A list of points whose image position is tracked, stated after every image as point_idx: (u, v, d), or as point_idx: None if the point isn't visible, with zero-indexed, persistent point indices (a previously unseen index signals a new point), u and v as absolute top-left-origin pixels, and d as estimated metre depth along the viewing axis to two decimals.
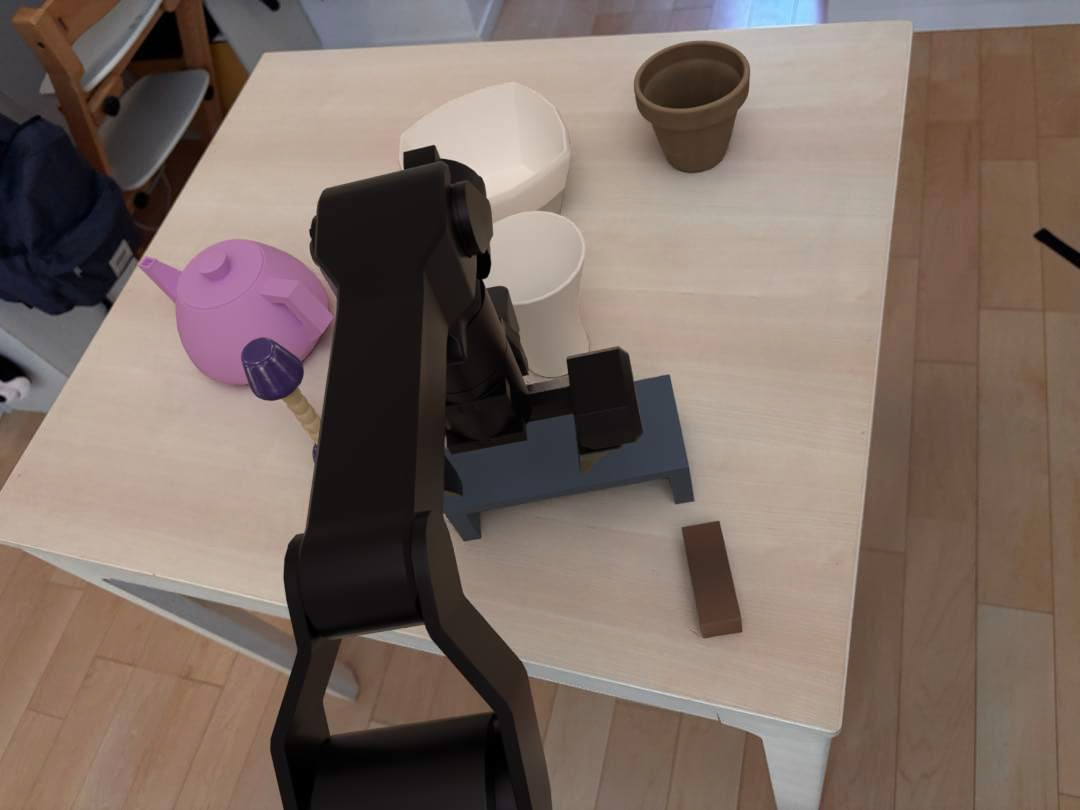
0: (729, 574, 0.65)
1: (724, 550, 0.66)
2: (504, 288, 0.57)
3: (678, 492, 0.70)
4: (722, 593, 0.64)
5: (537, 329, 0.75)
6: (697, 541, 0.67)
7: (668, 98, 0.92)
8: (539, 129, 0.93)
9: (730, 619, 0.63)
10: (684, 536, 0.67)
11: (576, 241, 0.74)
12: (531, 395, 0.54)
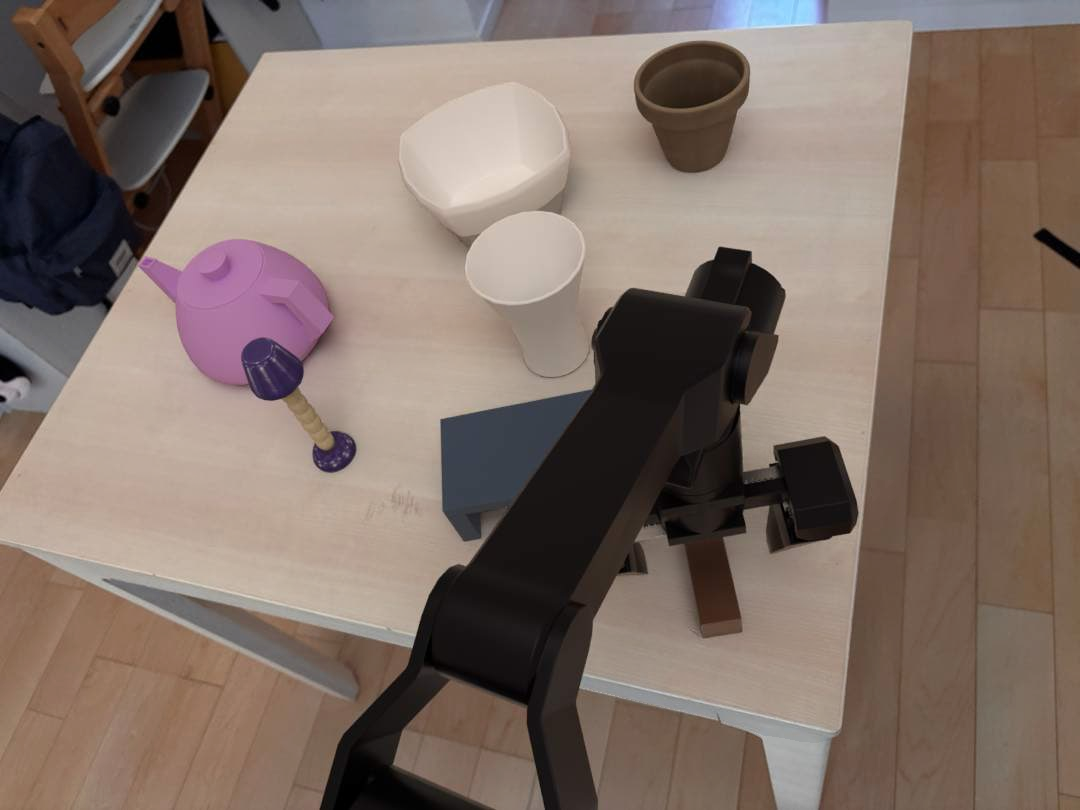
0: (729, 574, 0.65)
1: (724, 550, 0.66)
2: None
3: None
4: (722, 593, 0.64)
5: (537, 329, 0.75)
6: None
7: (668, 98, 0.92)
8: (539, 129, 0.93)
9: (730, 619, 0.63)
10: None
11: (575, 241, 0.74)
12: (743, 486, 0.55)
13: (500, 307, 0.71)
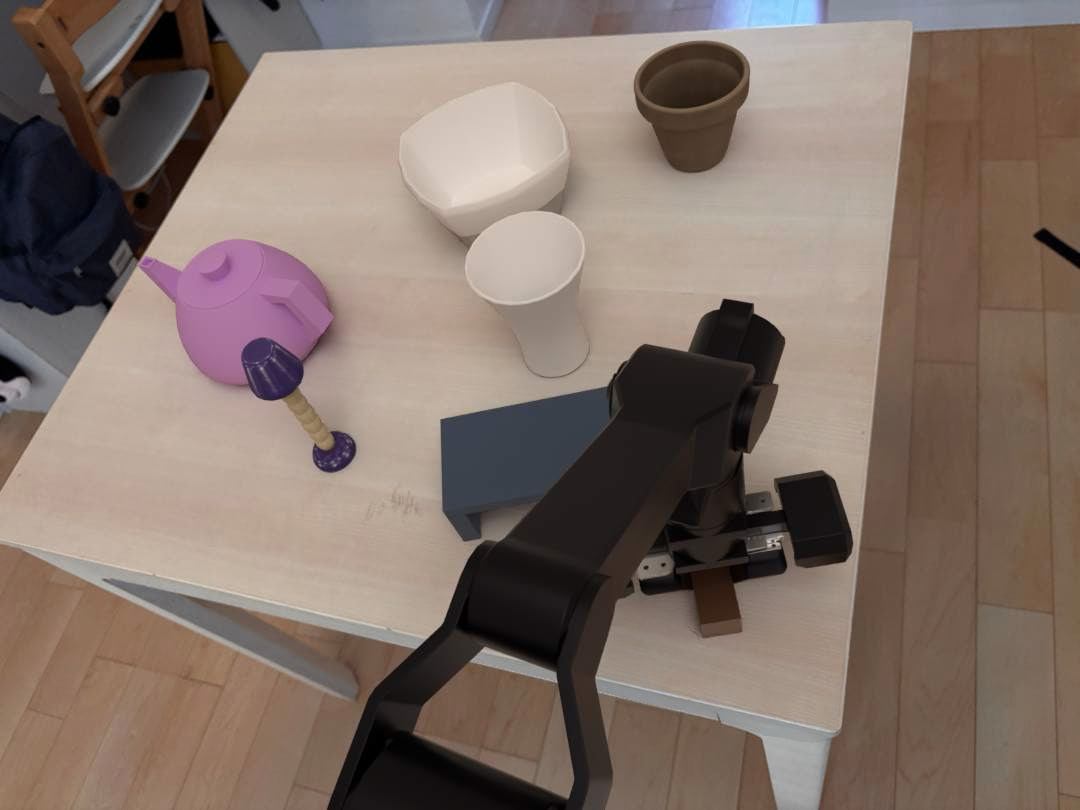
0: (729, 574, 0.65)
1: None
2: None
3: None
4: (722, 593, 0.64)
5: (537, 329, 0.75)
6: None
7: (668, 98, 0.92)
8: (539, 129, 0.93)
9: (730, 619, 0.63)
10: None
11: (575, 241, 0.74)
12: (745, 517, 0.59)
13: (500, 307, 0.71)
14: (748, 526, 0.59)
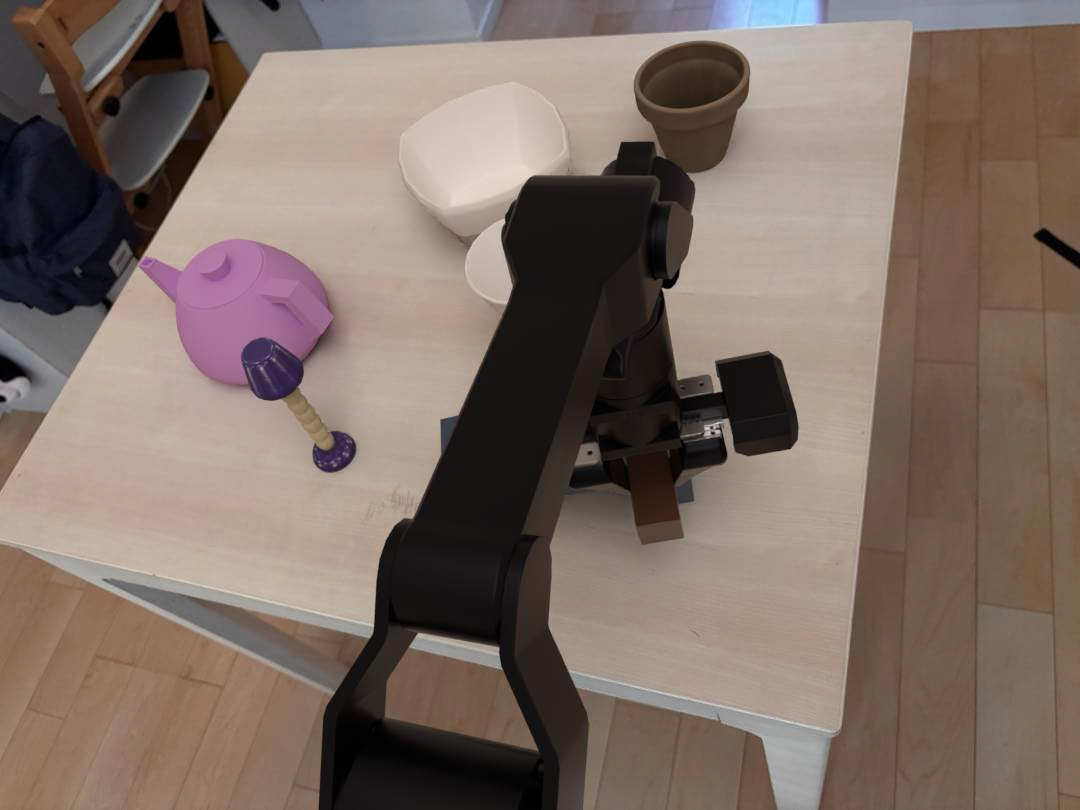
0: (669, 474, 0.59)
1: None
2: None
3: (678, 492, 0.70)
4: (661, 494, 0.58)
5: None
6: None
7: (668, 98, 0.92)
8: (539, 129, 0.93)
9: (669, 520, 0.57)
10: None
11: None
12: (681, 400, 0.53)
13: (500, 307, 0.71)
14: (683, 410, 0.53)
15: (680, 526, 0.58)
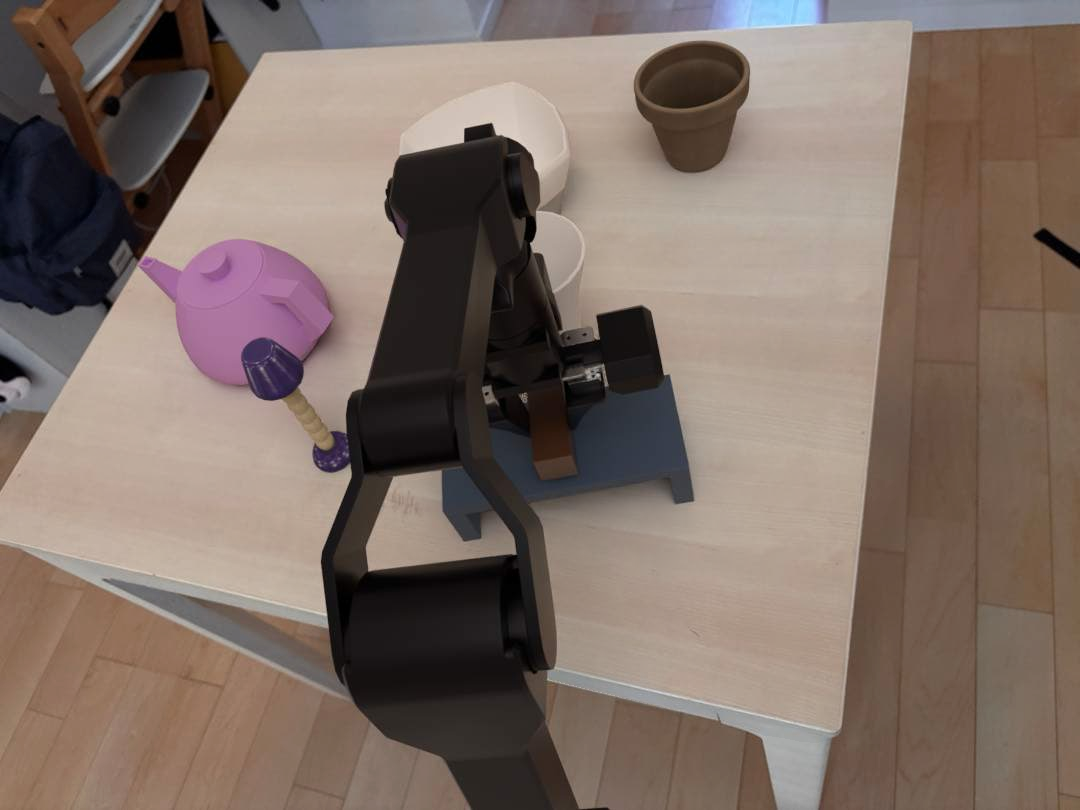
0: (564, 417, 0.67)
1: (562, 396, 0.68)
2: (539, 254, 0.64)
3: (678, 492, 0.70)
4: (556, 434, 0.67)
5: None
6: None
7: (668, 98, 0.92)
8: (539, 129, 0.93)
9: (561, 456, 0.65)
10: None
11: (575, 241, 0.74)
12: (565, 347, 0.61)
13: None
14: (566, 355, 0.61)
15: (572, 462, 0.66)
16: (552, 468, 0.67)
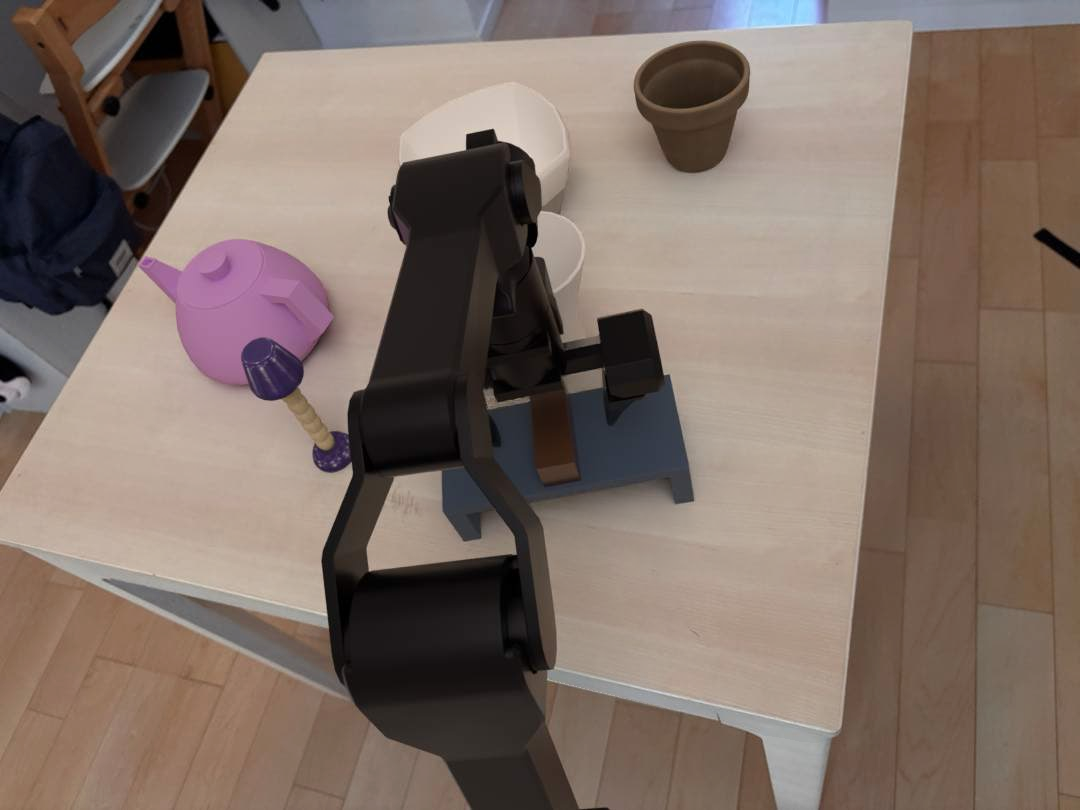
0: (567, 424, 0.68)
1: (565, 404, 0.69)
2: (541, 258, 0.65)
3: (678, 492, 0.70)
4: (559, 441, 0.67)
5: None
6: (541, 397, 0.70)
7: (668, 98, 0.92)
8: (539, 129, 0.93)
9: (564, 463, 0.66)
10: None
11: (575, 241, 0.74)
12: (566, 351, 0.62)
13: None
14: (567, 359, 0.61)
15: (575, 468, 0.67)
16: (555, 475, 0.67)
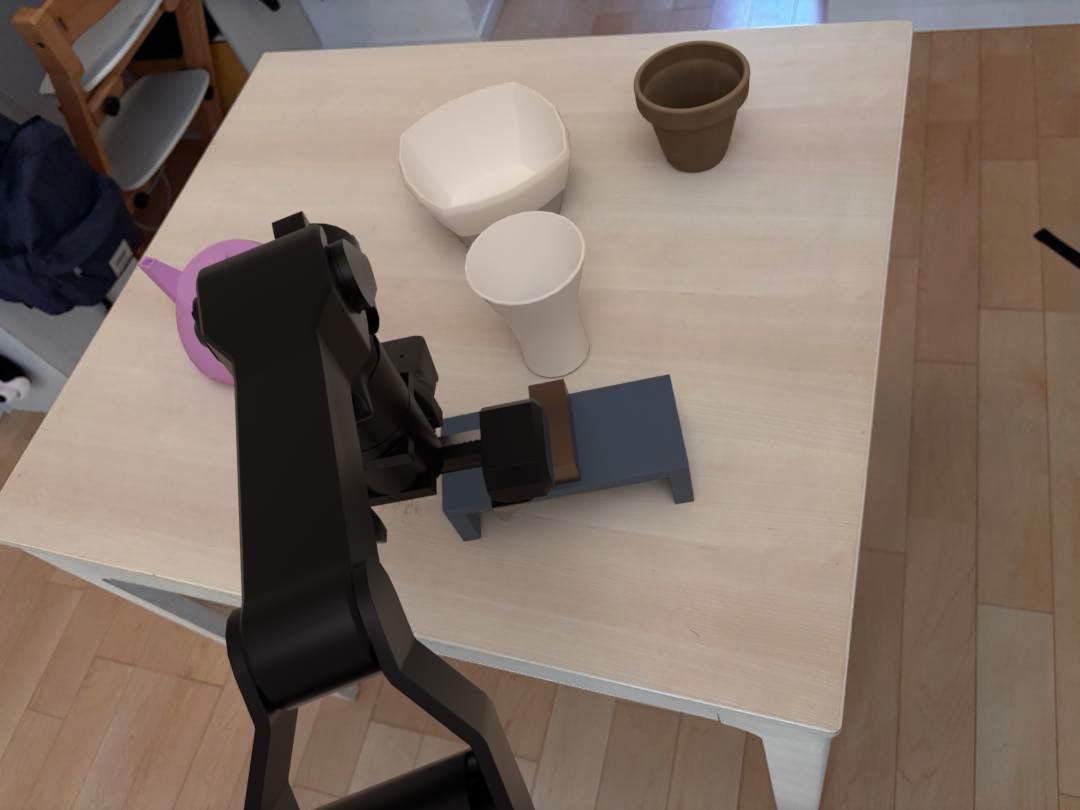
0: (567, 424, 0.68)
1: (565, 404, 0.69)
2: (421, 338, 0.57)
3: (678, 492, 0.70)
4: (559, 441, 0.67)
5: (537, 329, 0.75)
6: (541, 397, 0.70)
7: (668, 98, 0.92)
8: (539, 129, 0.93)
9: (564, 463, 0.66)
10: (530, 393, 0.70)
11: (575, 241, 0.74)
12: (443, 448, 0.54)
13: (500, 307, 0.71)
14: (444, 457, 0.54)
15: (575, 468, 0.67)
16: (555, 475, 0.67)
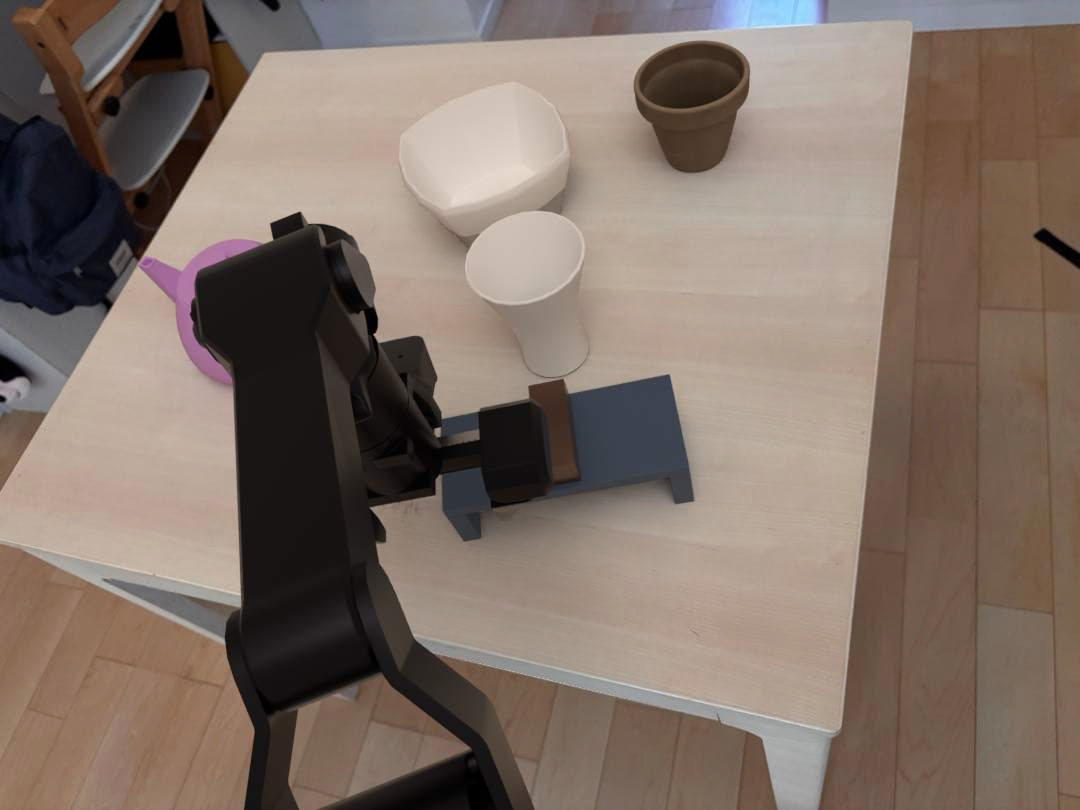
0: (567, 424, 0.68)
1: (565, 404, 0.69)
2: (420, 338, 0.57)
3: (678, 492, 0.70)
4: (559, 441, 0.67)
5: (537, 329, 0.75)
6: (541, 397, 0.70)
7: (668, 98, 0.92)
8: (539, 129, 0.93)
9: (564, 463, 0.66)
10: (530, 393, 0.70)
11: (575, 241, 0.74)
12: (442, 448, 0.54)
13: (500, 307, 0.71)
14: (443, 457, 0.54)
15: (575, 468, 0.67)
16: (555, 475, 0.67)
